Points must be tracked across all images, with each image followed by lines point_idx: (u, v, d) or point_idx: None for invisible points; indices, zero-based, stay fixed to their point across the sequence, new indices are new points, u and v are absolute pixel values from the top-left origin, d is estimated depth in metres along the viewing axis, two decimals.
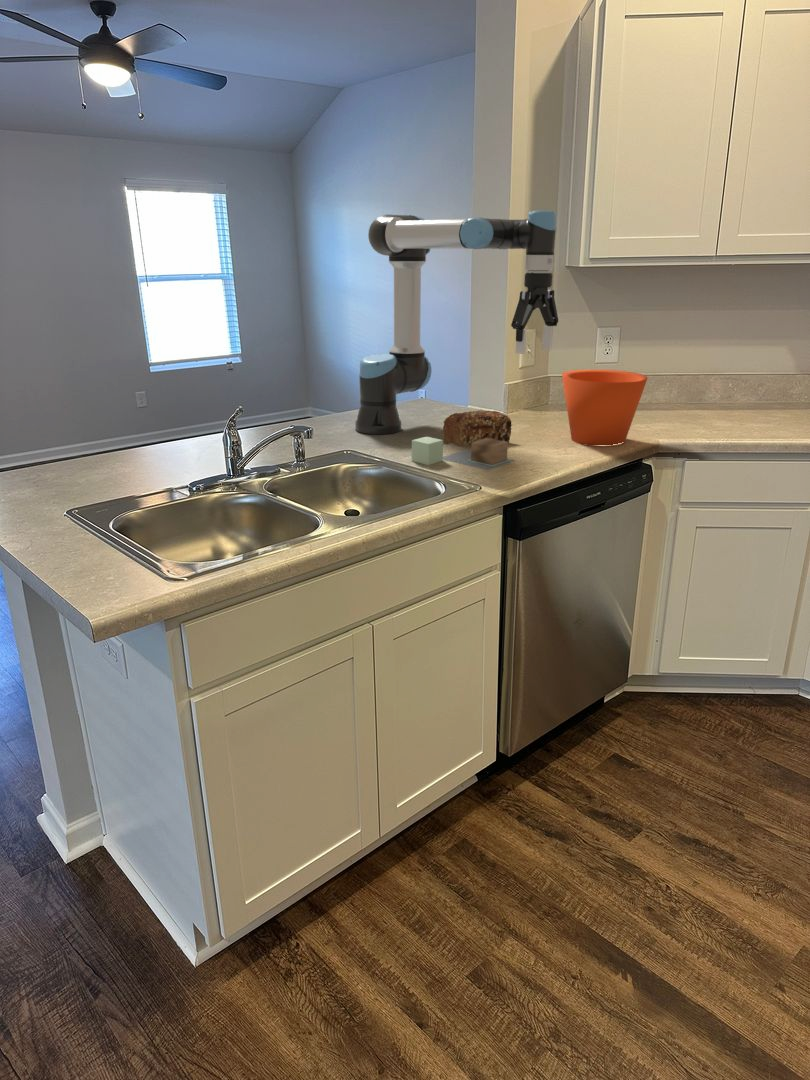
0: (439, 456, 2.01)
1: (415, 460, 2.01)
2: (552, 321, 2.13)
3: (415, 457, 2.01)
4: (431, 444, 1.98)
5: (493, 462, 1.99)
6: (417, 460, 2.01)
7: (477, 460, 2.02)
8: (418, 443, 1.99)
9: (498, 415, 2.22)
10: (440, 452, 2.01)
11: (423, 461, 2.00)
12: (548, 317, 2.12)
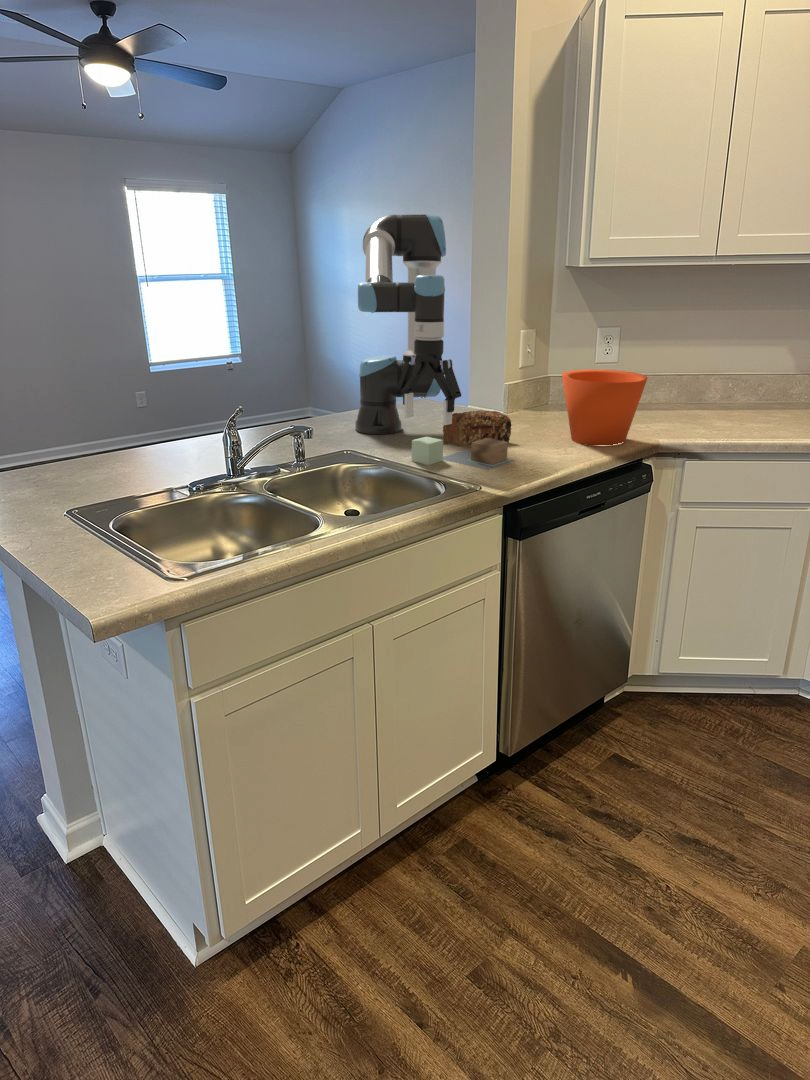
0: (439, 456, 2.01)
1: (415, 460, 2.01)
2: (445, 394, 1.90)
3: (415, 457, 2.01)
4: (431, 444, 1.98)
5: (493, 462, 1.99)
6: (417, 460, 2.01)
7: (477, 460, 2.02)
8: (418, 443, 1.99)
9: (498, 415, 2.22)
10: (440, 452, 2.01)
11: (423, 461, 2.00)
12: None
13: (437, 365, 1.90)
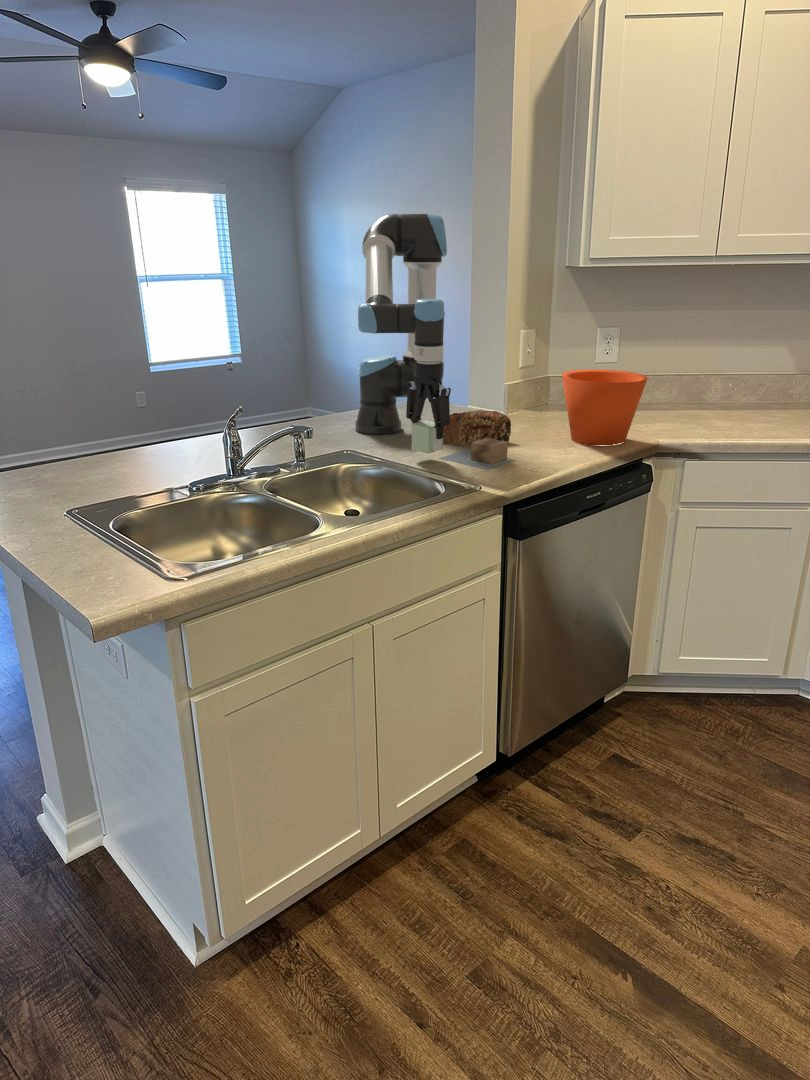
0: None
1: (415, 444, 2.00)
2: (435, 421, 1.96)
3: (415, 441, 2.00)
4: (431, 428, 1.96)
5: (493, 462, 1.99)
6: (417, 444, 2.00)
7: (477, 460, 2.02)
8: (418, 427, 1.98)
9: (497, 415, 2.22)
10: None
11: (423, 445, 1.99)
12: None
13: (436, 389, 1.93)
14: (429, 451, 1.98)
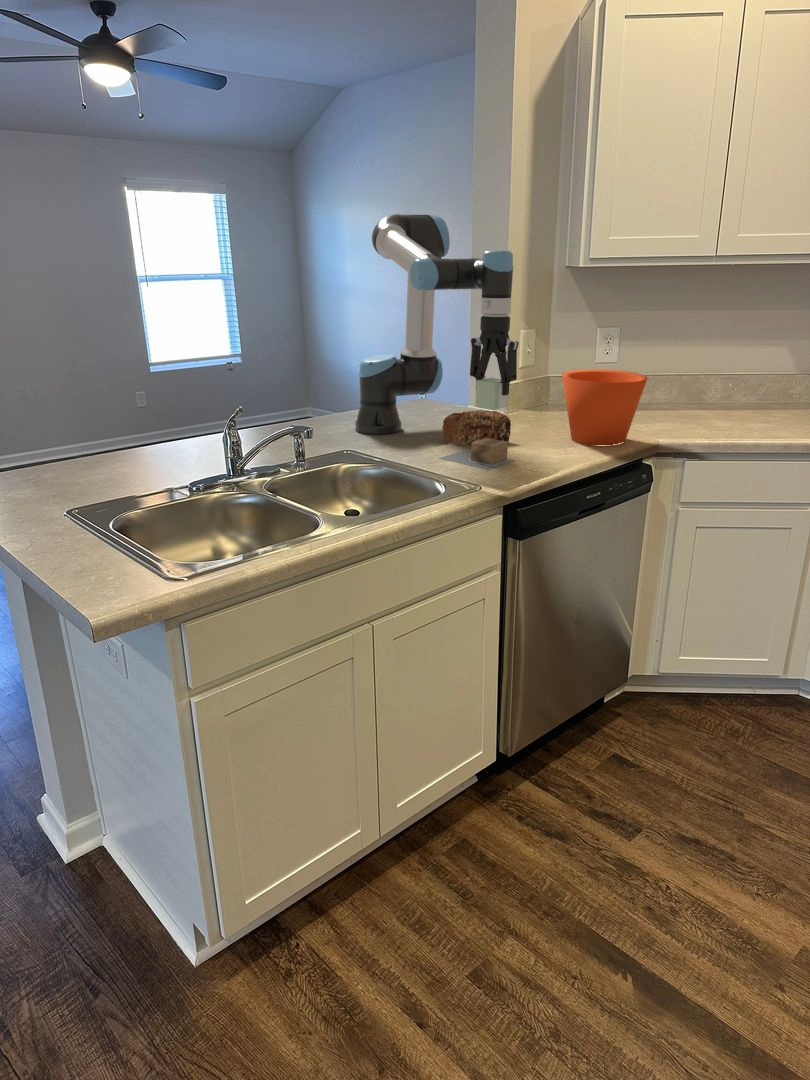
0: None
1: (479, 401, 1.96)
2: (502, 377, 1.92)
3: (480, 398, 1.96)
4: (497, 383, 1.92)
5: (493, 462, 1.99)
6: (482, 401, 1.96)
7: (477, 460, 2.02)
8: (483, 383, 1.94)
9: (497, 415, 2.22)
10: None
11: (488, 402, 1.94)
12: None
13: (503, 343, 1.89)
14: (494, 407, 1.94)
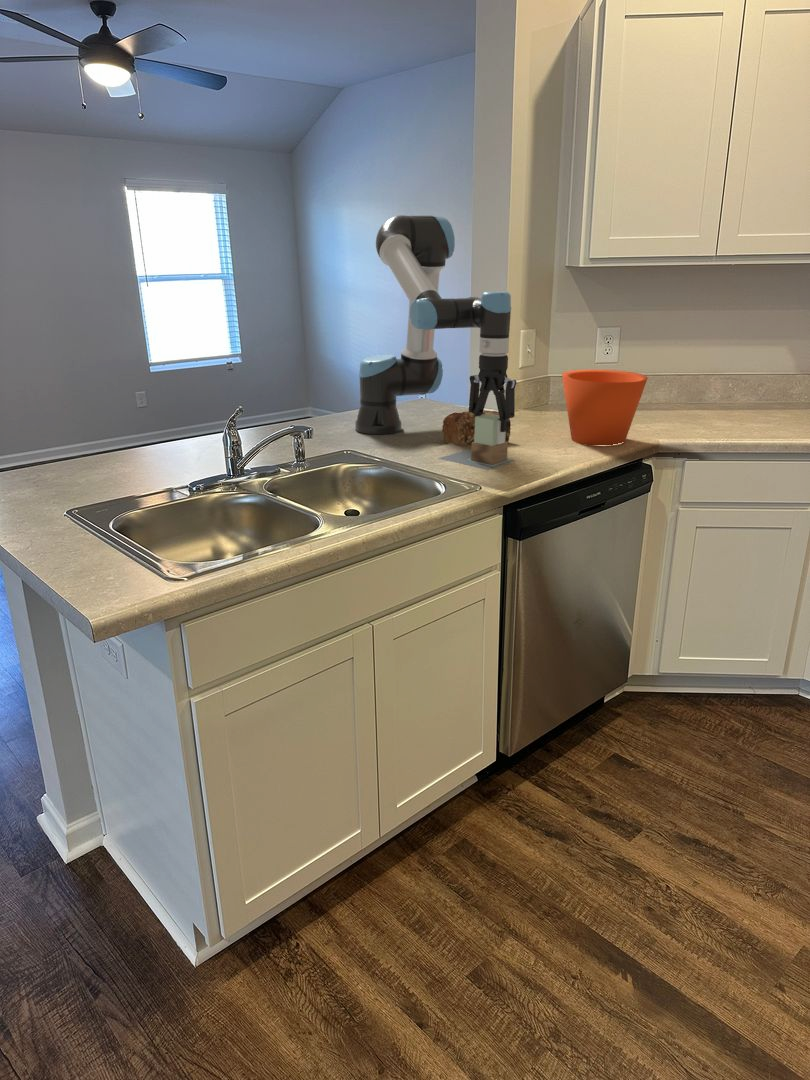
0: None
1: (478, 437, 2.00)
2: (500, 414, 1.95)
3: (478, 434, 2.00)
4: (495, 420, 1.96)
5: (493, 462, 1.99)
6: (480, 437, 1.99)
7: (477, 460, 2.02)
8: (482, 419, 1.97)
9: None
10: None
11: (487, 438, 1.98)
12: None
13: (501, 381, 1.93)
14: (493, 444, 1.98)
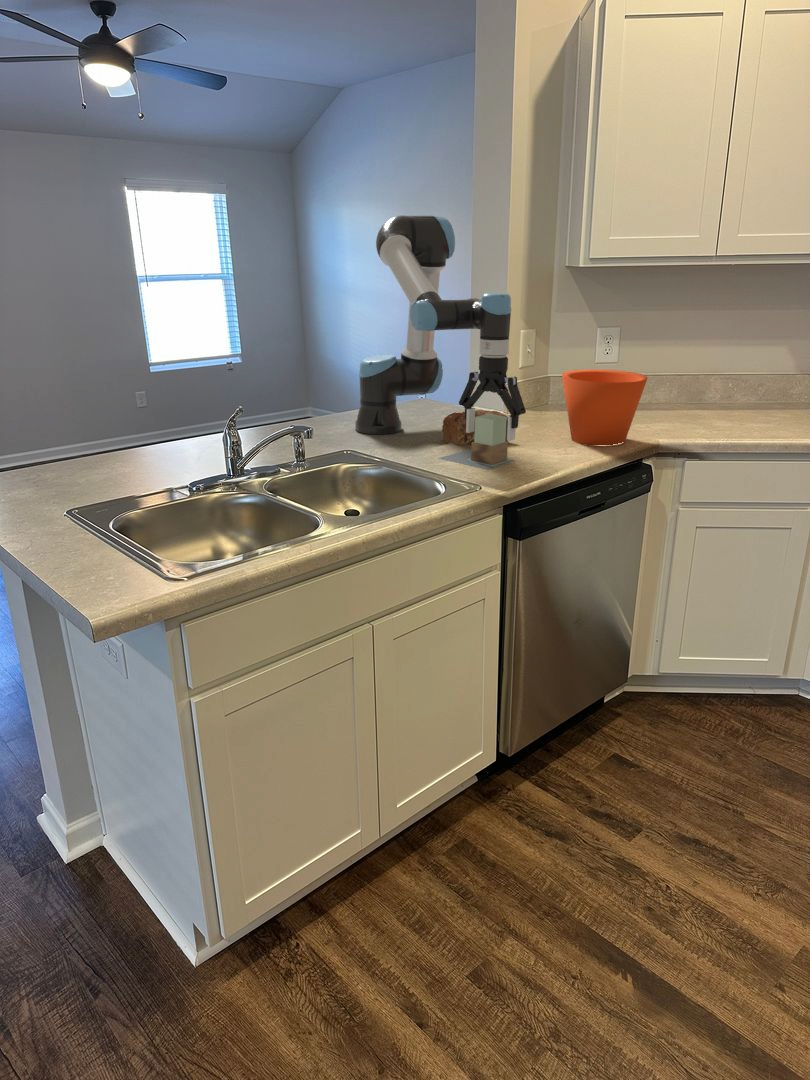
0: (502, 433, 2.00)
1: (478, 437, 2.00)
2: (510, 411, 1.93)
3: (478, 434, 2.00)
4: (496, 420, 1.96)
5: (493, 462, 1.99)
6: (480, 437, 1.99)
7: (477, 460, 2.02)
8: (482, 419, 1.97)
9: None
10: (504, 429, 2.00)
11: (487, 438, 1.98)
12: None
13: (502, 382, 1.93)
14: (493, 444, 1.98)
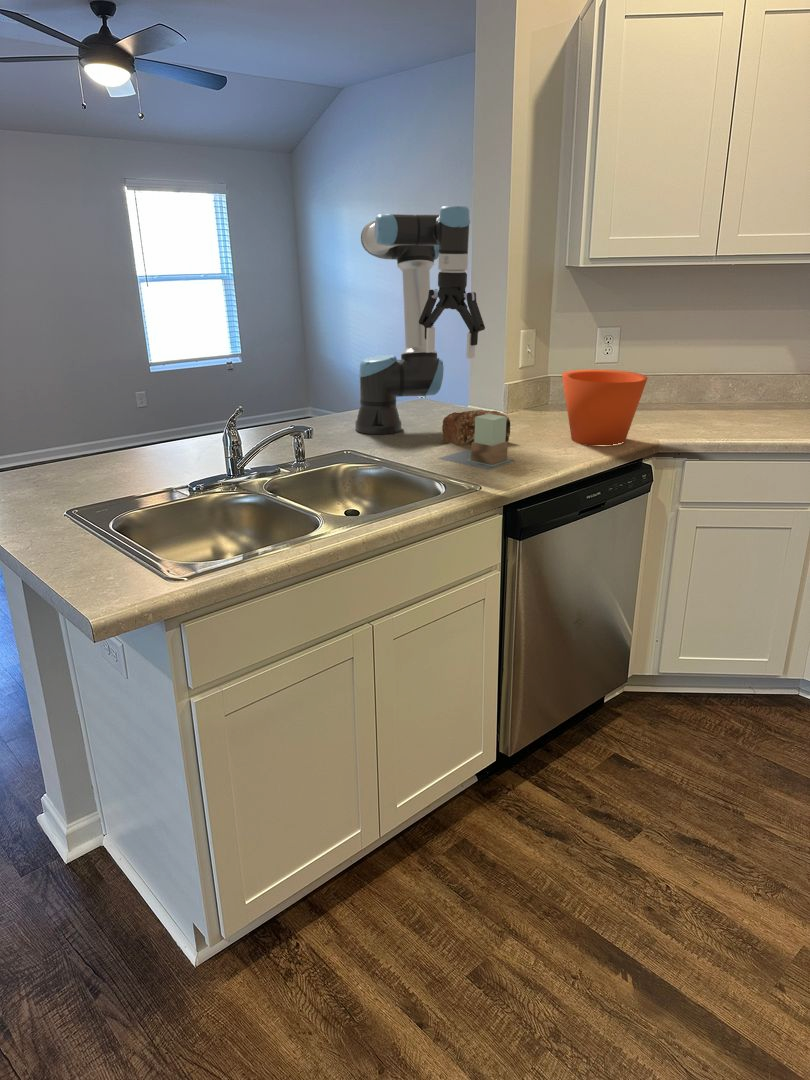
0: (502, 433, 2.00)
1: (478, 437, 2.00)
2: (469, 327, 1.92)
3: (478, 434, 2.00)
4: (496, 420, 1.96)
5: (493, 462, 1.99)
6: (480, 437, 1.99)
7: (477, 460, 2.02)
8: (482, 419, 1.97)
9: None
10: (504, 429, 2.00)
11: (487, 438, 1.98)
12: None
13: (461, 298, 1.92)
14: (493, 444, 1.98)
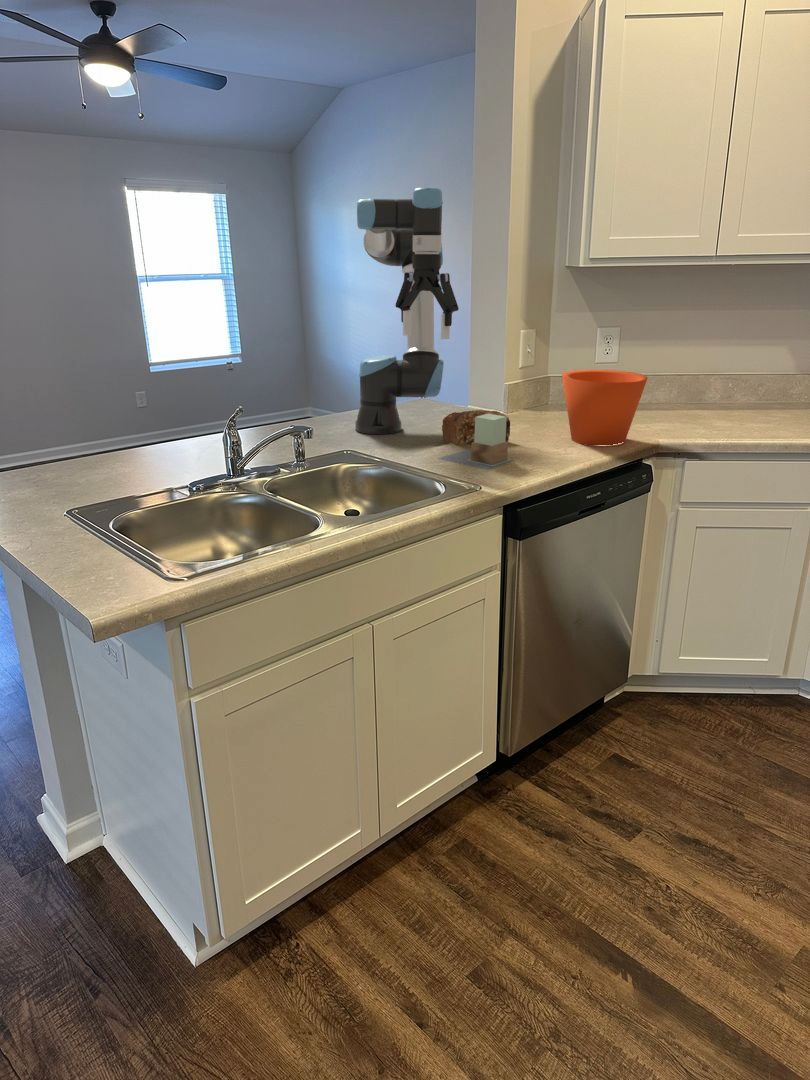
0: (502, 433, 2.00)
1: (478, 437, 2.00)
2: (443, 308, 1.94)
3: (478, 434, 2.00)
4: (496, 420, 1.96)
5: (493, 462, 1.99)
6: (480, 437, 1.99)
7: (477, 460, 2.02)
8: (482, 419, 1.97)
9: None
10: (504, 429, 2.00)
11: (487, 438, 1.98)
12: None
13: (435, 279, 1.93)
14: (493, 444, 1.98)
